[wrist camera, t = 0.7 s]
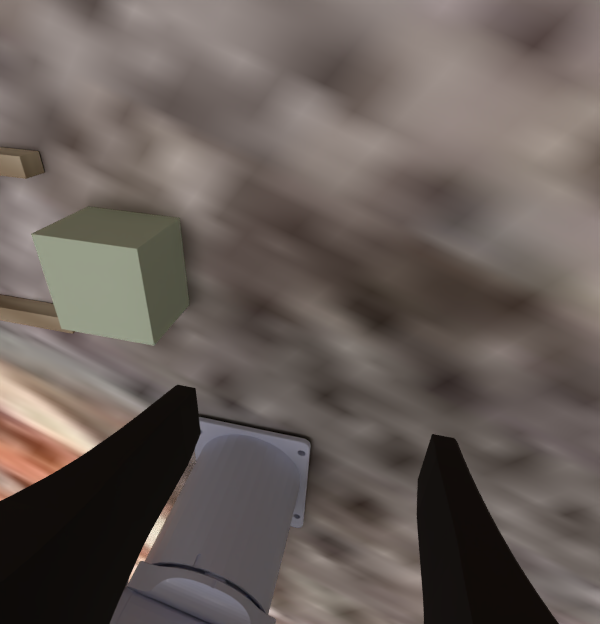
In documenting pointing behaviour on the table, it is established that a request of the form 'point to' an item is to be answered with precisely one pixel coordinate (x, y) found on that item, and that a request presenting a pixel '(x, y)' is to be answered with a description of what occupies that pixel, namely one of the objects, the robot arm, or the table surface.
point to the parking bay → (12, 307)
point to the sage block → (115, 273)
